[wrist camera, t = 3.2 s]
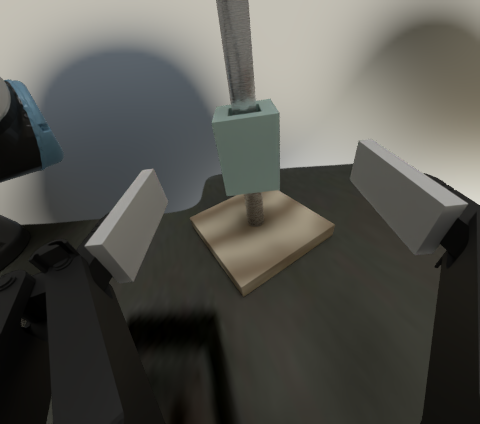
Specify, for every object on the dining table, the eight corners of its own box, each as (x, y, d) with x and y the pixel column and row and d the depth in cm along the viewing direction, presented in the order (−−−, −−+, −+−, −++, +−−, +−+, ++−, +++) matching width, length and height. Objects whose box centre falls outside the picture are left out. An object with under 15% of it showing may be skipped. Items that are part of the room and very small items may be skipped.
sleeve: (226, 196, 23) (211, 122, 18) (228, 170, 28) (216, 106, 23) (279, 189, 23) (279, 113, 18) (272, 165, 27) (270, 98, 22)
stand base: (193, 226, 33) (189, 217, 32) (265, 191, 39) (264, 182, 37) (243, 297, 23) (241, 287, 22) (332, 235, 28) (334, 224, 27)
